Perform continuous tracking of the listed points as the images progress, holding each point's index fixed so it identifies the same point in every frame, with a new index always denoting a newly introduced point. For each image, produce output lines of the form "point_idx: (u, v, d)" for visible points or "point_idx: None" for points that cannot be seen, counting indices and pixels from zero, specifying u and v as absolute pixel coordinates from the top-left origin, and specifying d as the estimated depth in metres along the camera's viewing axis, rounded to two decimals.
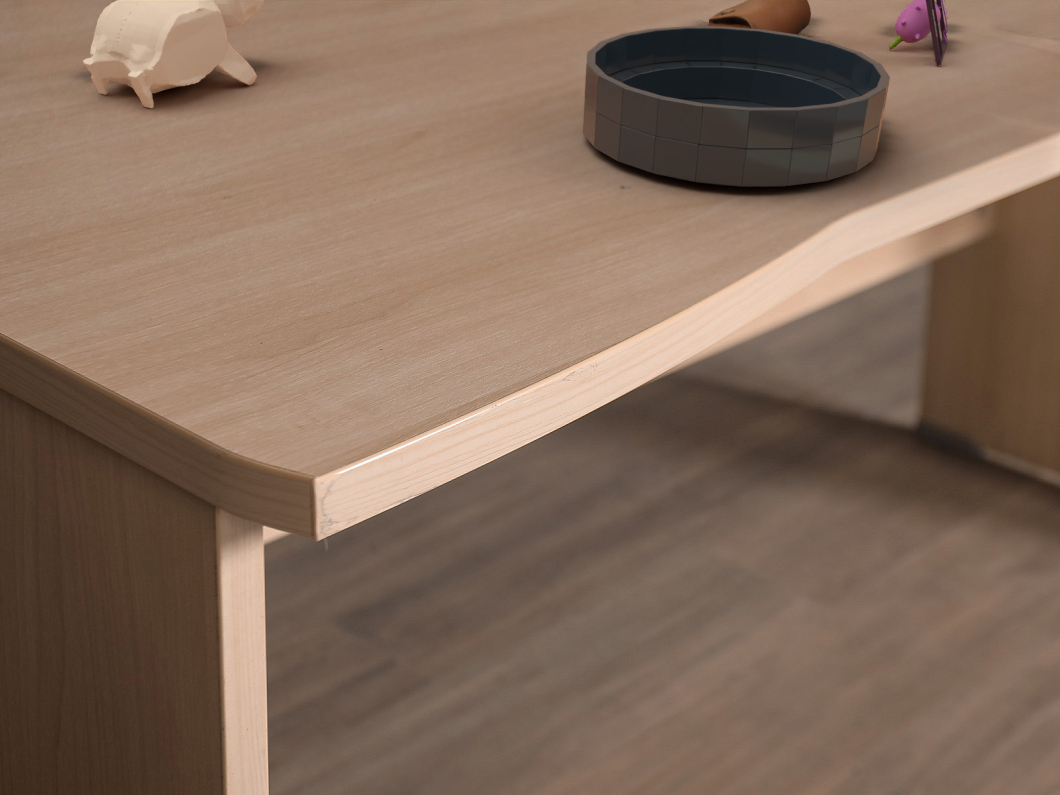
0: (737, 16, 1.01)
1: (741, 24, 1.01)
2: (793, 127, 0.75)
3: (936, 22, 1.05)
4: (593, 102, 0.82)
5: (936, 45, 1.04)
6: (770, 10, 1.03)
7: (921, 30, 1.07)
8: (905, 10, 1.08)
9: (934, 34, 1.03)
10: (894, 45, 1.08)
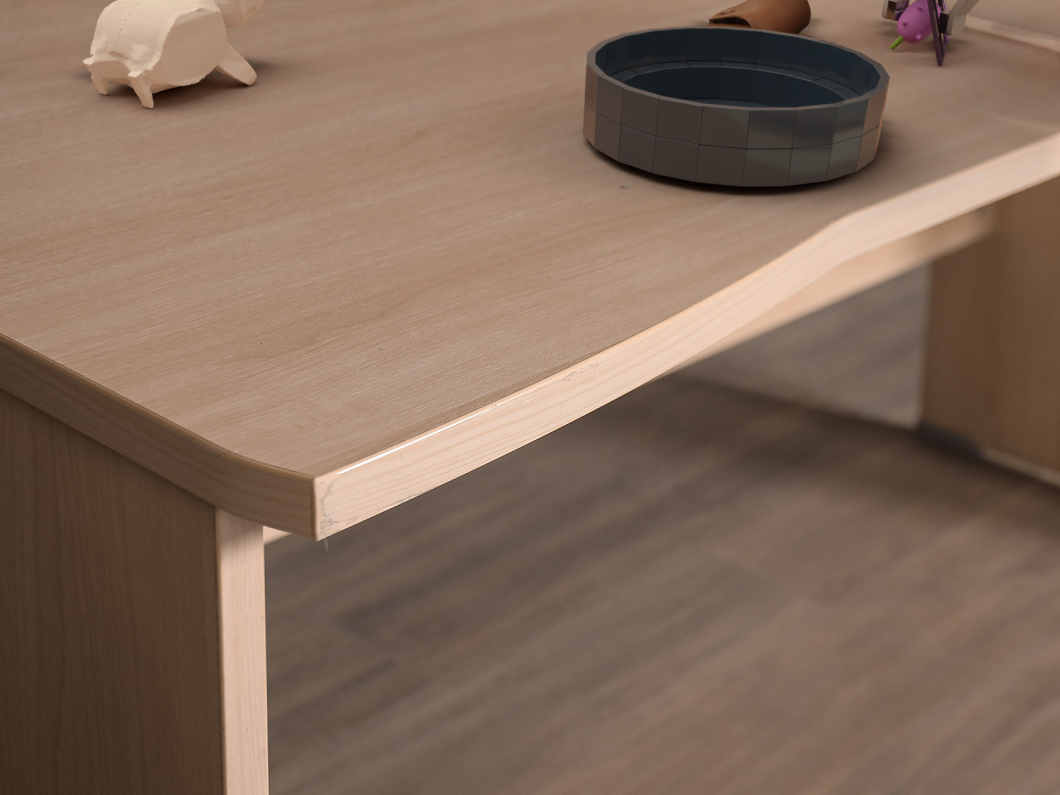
0: (737, 16, 1.01)
1: (741, 24, 1.01)
2: (793, 127, 0.75)
3: (937, 22, 1.05)
4: (593, 102, 0.82)
5: (937, 45, 1.03)
6: (770, 10, 1.03)
7: (922, 31, 1.07)
8: (906, 10, 1.08)
9: (935, 34, 1.03)
10: (895, 45, 1.08)
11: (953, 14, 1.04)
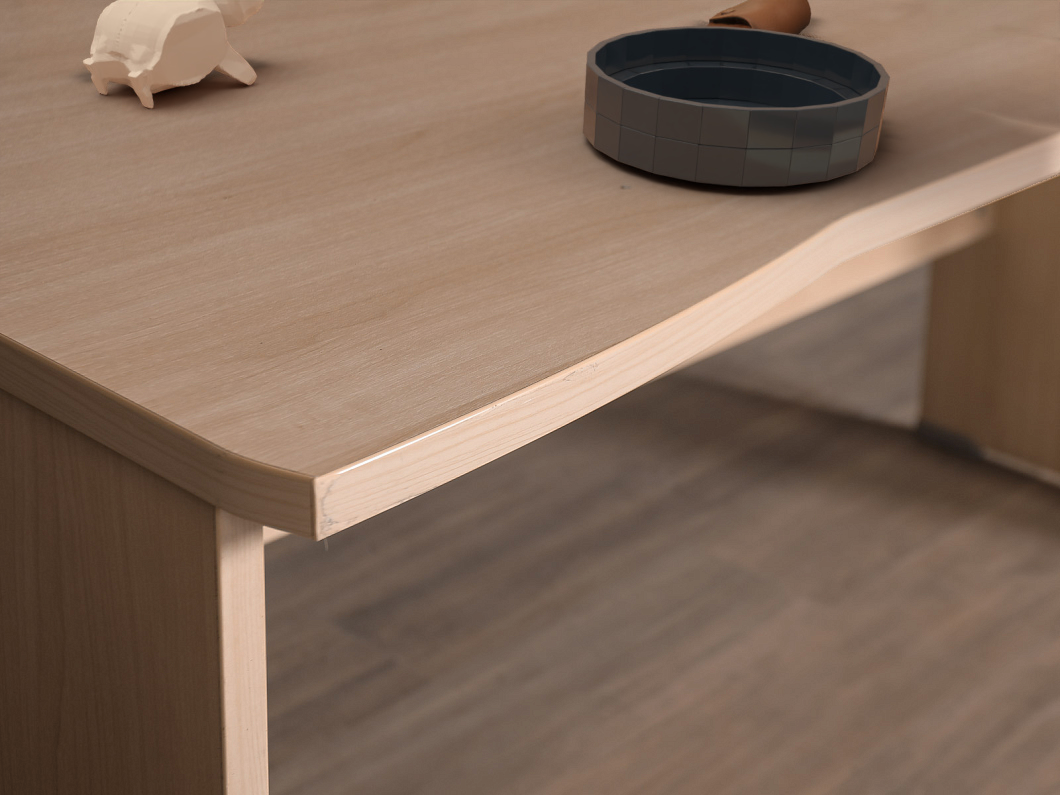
0: (737, 16, 1.01)
1: (741, 24, 1.01)
2: (793, 127, 0.75)
3: None
4: (593, 102, 0.82)
5: None
6: (770, 10, 1.03)
7: None
8: None
9: None
10: None
11: None
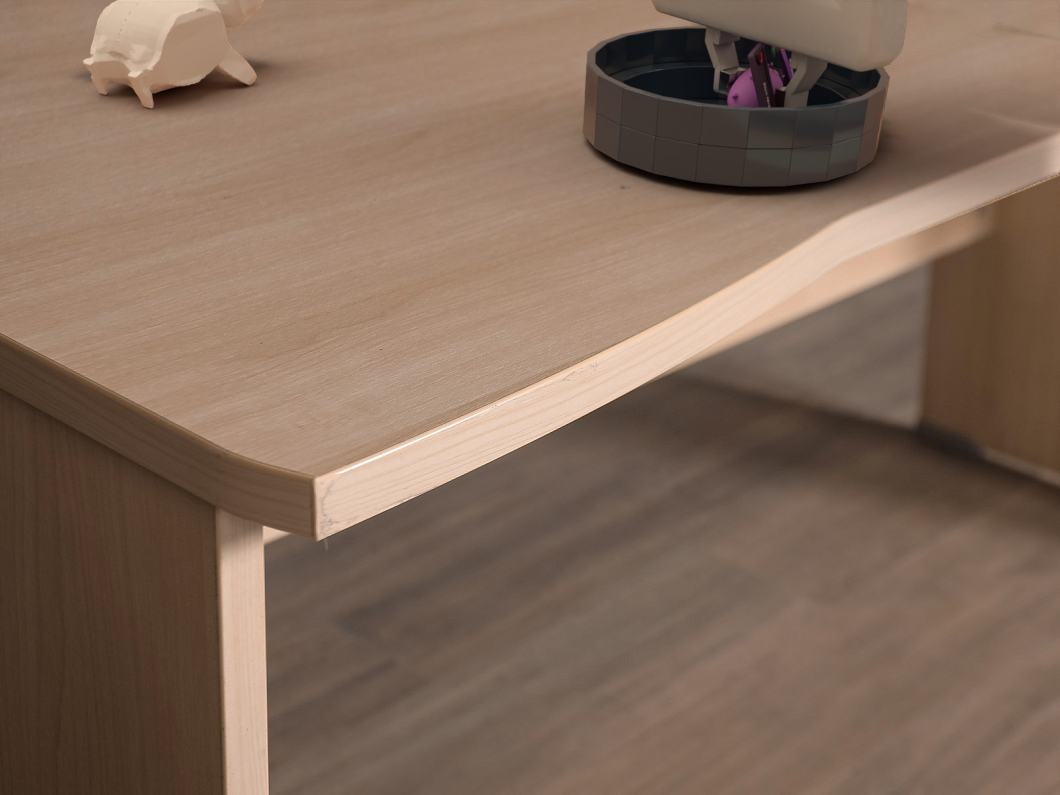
0: None
1: None
2: (793, 127, 0.75)
3: (772, 97, 0.83)
4: (593, 102, 0.82)
5: None
6: None
7: (757, 106, 0.85)
8: (738, 80, 0.86)
9: None
10: None
11: (790, 92, 0.82)
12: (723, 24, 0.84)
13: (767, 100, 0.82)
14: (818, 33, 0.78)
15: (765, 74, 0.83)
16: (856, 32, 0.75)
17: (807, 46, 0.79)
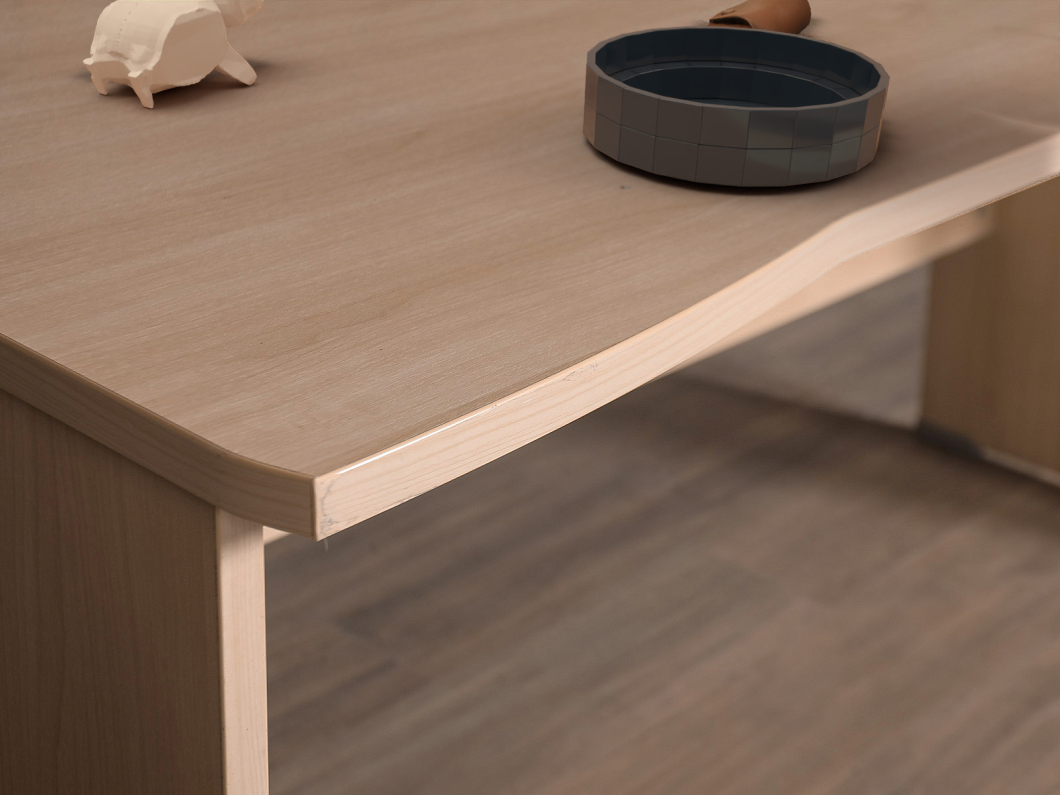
0: (737, 16, 1.01)
1: (742, 24, 1.01)
2: (793, 127, 0.75)
3: None
4: (593, 102, 0.82)
5: None
6: (770, 10, 1.03)
7: None
8: None
9: None
10: None
11: None
12: None
13: None
14: None
15: None
16: None
17: None
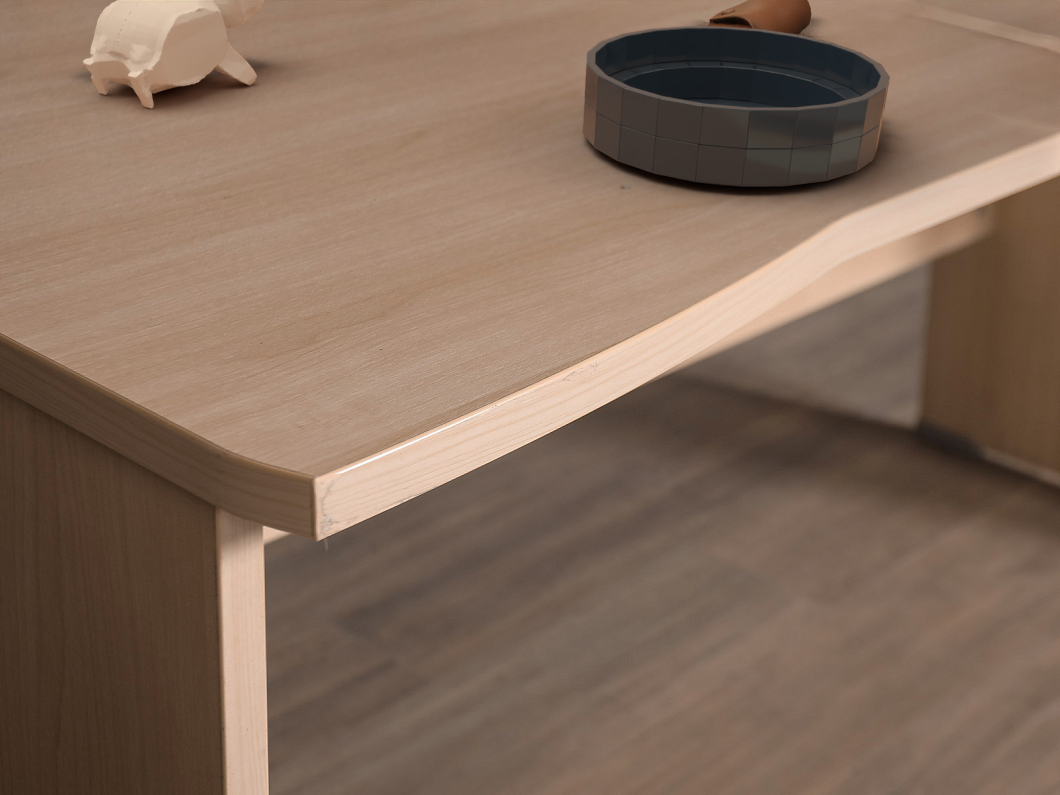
0: (738, 16, 1.01)
1: (742, 24, 1.01)
2: (793, 127, 0.75)
3: None
4: (593, 102, 0.82)
5: None
6: (770, 10, 1.03)
7: None
8: None
9: None
10: None
11: None
12: None
13: None
14: None
15: None
16: None
17: None
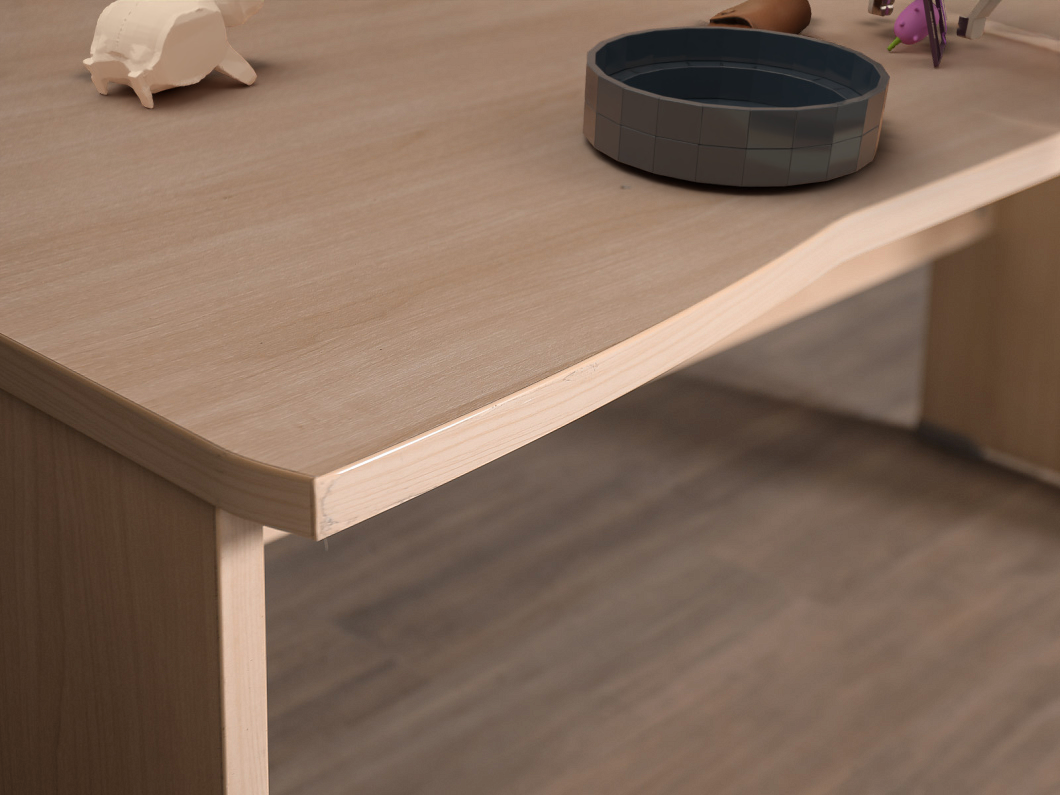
0: (738, 16, 1.01)
1: (742, 24, 1.01)
2: (793, 127, 0.75)
3: (934, 24, 1.05)
4: (593, 102, 0.82)
5: (934, 47, 1.03)
6: (770, 10, 1.03)
7: (919, 32, 1.07)
8: (903, 11, 1.07)
9: (932, 36, 1.03)
10: (892, 47, 1.08)
11: (973, 18, 1.03)
12: None
13: (932, 25, 1.04)
14: None
15: (930, 5, 1.04)
16: None
17: None
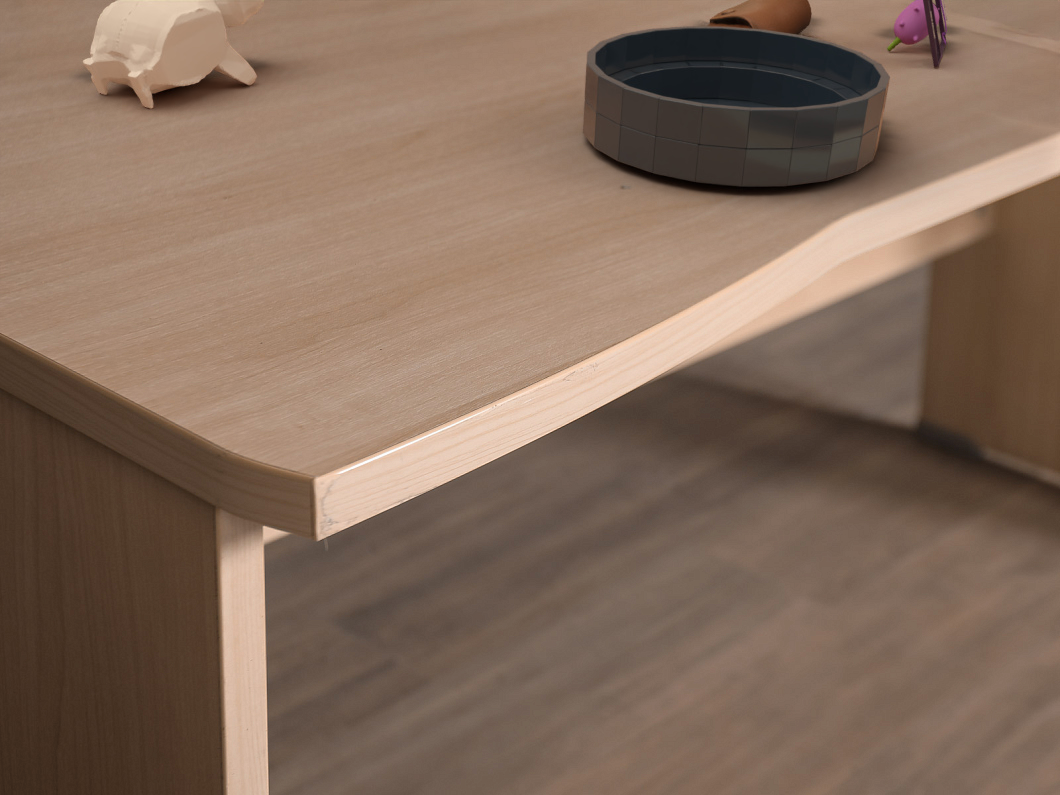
0: (738, 16, 1.01)
1: (742, 24, 1.01)
2: (793, 127, 0.75)
3: (934, 24, 1.05)
4: (593, 102, 0.82)
5: (934, 47, 1.03)
6: (771, 10, 1.03)
7: (919, 32, 1.07)
8: (903, 11, 1.07)
9: (932, 36, 1.03)
10: (892, 47, 1.08)
11: None
12: None
13: (932, 25, 1.04)
14: None
15: (930, 5, 1.04)
16: None
17: None
